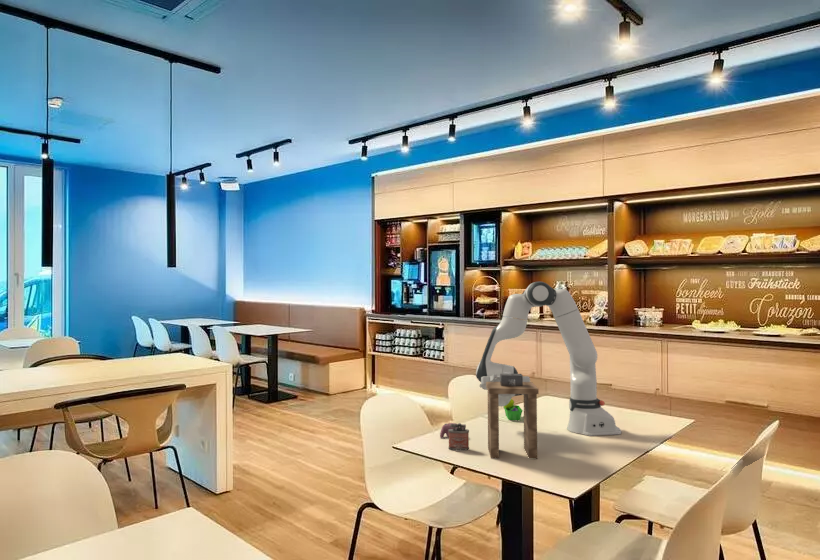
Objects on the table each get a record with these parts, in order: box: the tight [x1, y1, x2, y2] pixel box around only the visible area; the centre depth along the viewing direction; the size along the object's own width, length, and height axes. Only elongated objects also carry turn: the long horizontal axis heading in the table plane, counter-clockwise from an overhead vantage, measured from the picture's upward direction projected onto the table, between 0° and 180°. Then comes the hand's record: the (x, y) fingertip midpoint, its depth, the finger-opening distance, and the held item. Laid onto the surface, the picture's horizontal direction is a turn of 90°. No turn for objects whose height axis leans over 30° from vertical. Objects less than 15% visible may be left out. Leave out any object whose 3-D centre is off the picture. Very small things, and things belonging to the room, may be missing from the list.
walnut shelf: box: [486, 381, 539, 460], centre depth 206 cm, size 18×14×26 cm
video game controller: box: [439, 422, 457, 439], centre depth 229 cm, size 10×5×7 cm, turn 72°
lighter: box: [448, 422, 470, 451], centre depth 212 cm, size 8×3×10 cm, turn 84°
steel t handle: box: [500, 372, 523, 386], centre depth 214 cm, size 8×18×4 cm, turn 177°
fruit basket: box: [503, 398, 524, 421], centre depth 261 cm, size 11×9×11 cm
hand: (506, 375), depth 220 cm, fingers open, 8 cm apart
